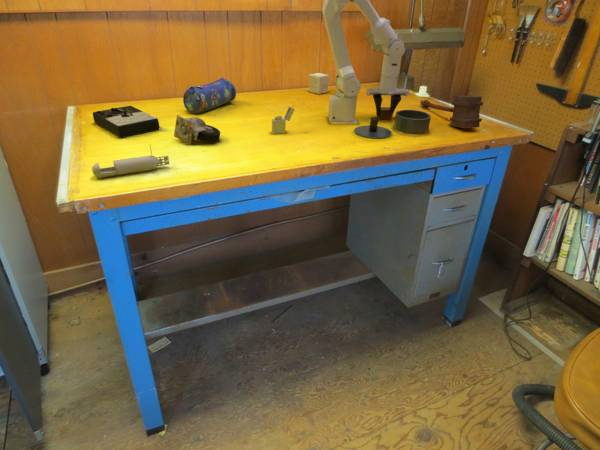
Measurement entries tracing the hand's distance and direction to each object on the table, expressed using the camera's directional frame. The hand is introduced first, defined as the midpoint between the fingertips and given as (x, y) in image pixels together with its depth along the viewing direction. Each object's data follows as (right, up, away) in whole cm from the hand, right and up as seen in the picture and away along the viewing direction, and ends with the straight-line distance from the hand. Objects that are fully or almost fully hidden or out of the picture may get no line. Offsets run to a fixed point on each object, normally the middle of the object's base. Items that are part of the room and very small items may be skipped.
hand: (384, 115), depth 149 cm
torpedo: (-72, -26, -45) cm, 88 cm away
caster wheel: (-60, -14, -23) cm, 66 cm away
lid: (-6, -9, -14) cm, 18 cm away
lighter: (-35, -9, -15) cm, 39 cm away
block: (0, -1, +1) cm, 1 cm away
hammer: (+23, +1, +5) cm, 24 cm away
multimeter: (-86, -7, -15) cm, 87 cm away
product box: (-22, +19, +33) cm, 44 cm away
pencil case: (-63, +5, +7) cm, 64 cm away
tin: (+7, -7, -9) cm, 13 cm away
